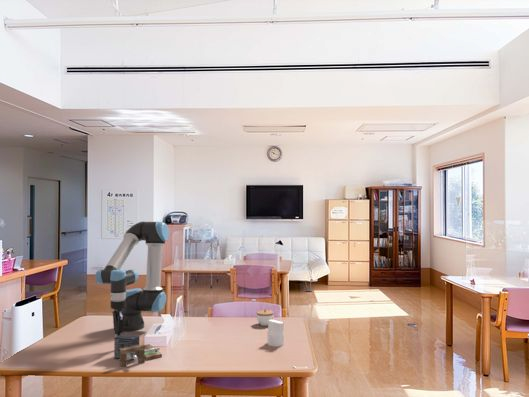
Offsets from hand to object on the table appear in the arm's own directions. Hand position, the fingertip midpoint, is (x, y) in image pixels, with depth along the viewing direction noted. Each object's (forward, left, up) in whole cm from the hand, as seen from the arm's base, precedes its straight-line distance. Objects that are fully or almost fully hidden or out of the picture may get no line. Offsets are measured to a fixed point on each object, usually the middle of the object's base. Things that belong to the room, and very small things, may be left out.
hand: (118, 345), depth 217 cm
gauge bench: (-5, +15, -2) cm, 16 cm away
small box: (0, +13, -3) cm, 14 cm away
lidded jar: (-89, +6, -3) cm, 89 cm away
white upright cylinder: (-73, +39, -3) cm, 83 cm away
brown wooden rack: (-5, +25, -1) cm, 25 cm away
